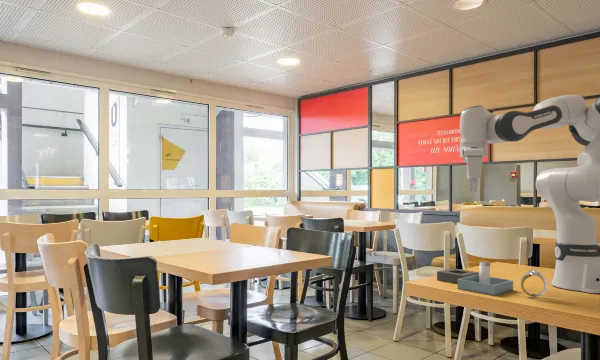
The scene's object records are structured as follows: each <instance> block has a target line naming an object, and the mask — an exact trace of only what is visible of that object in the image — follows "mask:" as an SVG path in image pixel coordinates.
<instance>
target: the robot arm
mask: <svg viewBox="0 0 600 360" xmlns="http://www.w3.org/2000/svg"><path fill="white" fill-rule="evenodd" d="M567 125H568V131H569V132H570V134H571V137H573V139H574V140H575V141H576V143H578V144H579V145H581V146H584V148H583V149H582V150H581V152H579V154H578V155H577V166H571V167H569V166H568V167H554V168H549V169H546V170H543V171H541V172H539V173H538V175H537V177H536V180H535V188H536V191H537V193H538V195H540V197H541V198H543V199H544V200H545V201H547V203H548V205H549V206H550V208H551V210H552V212H553V216H554V219H555V226H556V241H555V247H554V256H555V257H554V258H555V259H556V260H555V267H554V273H553V277H552V281H551V283H550V284H551V285H552V286H554V287H557V288H561V289H564V290H565V289H566V290H570V291H577V292H578V291H579V292H583V293H589V294H600V245H599V244H597V221H596V219H595V218H594V216H592V215H591V214H590V213H587V212H585V211H584V210H583V208H582V207H581V205H580V202H600V96H599V97H597V98H596V99H595V101H594V102H593V103H592V104H591V105H588V103H587V101H586V100H585V98H584V97H583V96H581V95H579V94H566V95H565V94H564V95H559V96H554V97H550V98H547V99H545V100H542V101H540V102H538V103H537V104H535V105H534V108H533V110H531V111H528V112H524V111H519V110H511V111H507V112H505V113H502V114H498V115H496V114H494V113H492V112H490V111H488V109H486V108H485V106H484V105H473V106H470V107H466V108H464V109H463V110H462V111H461V113H460V118H459V135H460V142H459V158H460V159H463V163H466V178H467V180H469V188H470V189H469V190H470V191H469V192H470V193H477V192H478V185H479V183H478V182H479V180H478V179H481V177H482V172H483V171H482V169H483V163H484V158H486V157H488V144H491V145H493V144H494V145H495V144H503V143H507V142H511V143H512V142H519V141H521V140H523V139H524V138H525V137H527V136H528V135H529V134H530V133H532V131H535V130H539V129H541V130H552V129H553V130H554V129H558V128H561V127H564V126H567Z"/></svg>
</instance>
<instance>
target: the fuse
mask: <svg viewBox="0 0 600 360" xmlns="http://www.w3.org/2000/svg"><path fill="white" fill-rule="evenodd" d="M478 262H479V265H478V267H479V268H478V269H479V271H478V272H479V283H485V284H490V277H491V262H490V261H483V260H482V261H478Z"/></svg>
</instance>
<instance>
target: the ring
mask: <svg viewBox="0 0 600 360" xmlns="http://www.w3.org/2000/svg"><path fill="white" fill-rule="evenodd" d="M541 272H542V271H540V270H537V269H531V270H530V269H529V270H528V271H527V272H526V273H524V274H523V275H522V276H521V278H520V287H521V290H522V291H523V292H524V294H526V295H527V296H530V297H532V298H534V297H535V298H538V297H541V296H543V295H544V294H545V293H546V292H547V289H548V280H547V279H546V277H545V276H544V275H543V274H541ZM533 276H534V277H535V276H536V277H539V278H540V279H541V280H542V282H543V290H542V291H541V292H539V293H534V292H532V293H530V292H529V291H527V290H526V289H525V286H524V284H525V282H526V280H527V279H528V278H530V277H533Z"/></svg>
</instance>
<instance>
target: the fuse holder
mask: <svg viewBox="0 0 600 360" xmlns="http://www.w3.org/2000/svg"><path fill="white" fill-rule="evenodd" d="M473 275H479V271H474V270H473V271H472V270H467V269H461V268H460V269H459V268H454V267H452V268H448V269H447V268H446V269H442V270H438V271H436V280H437V281H440V282H444V283H445V282H446V283H452V284H457V285H458V279H461V278H465V277H469V276H473Z"/></svg>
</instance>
